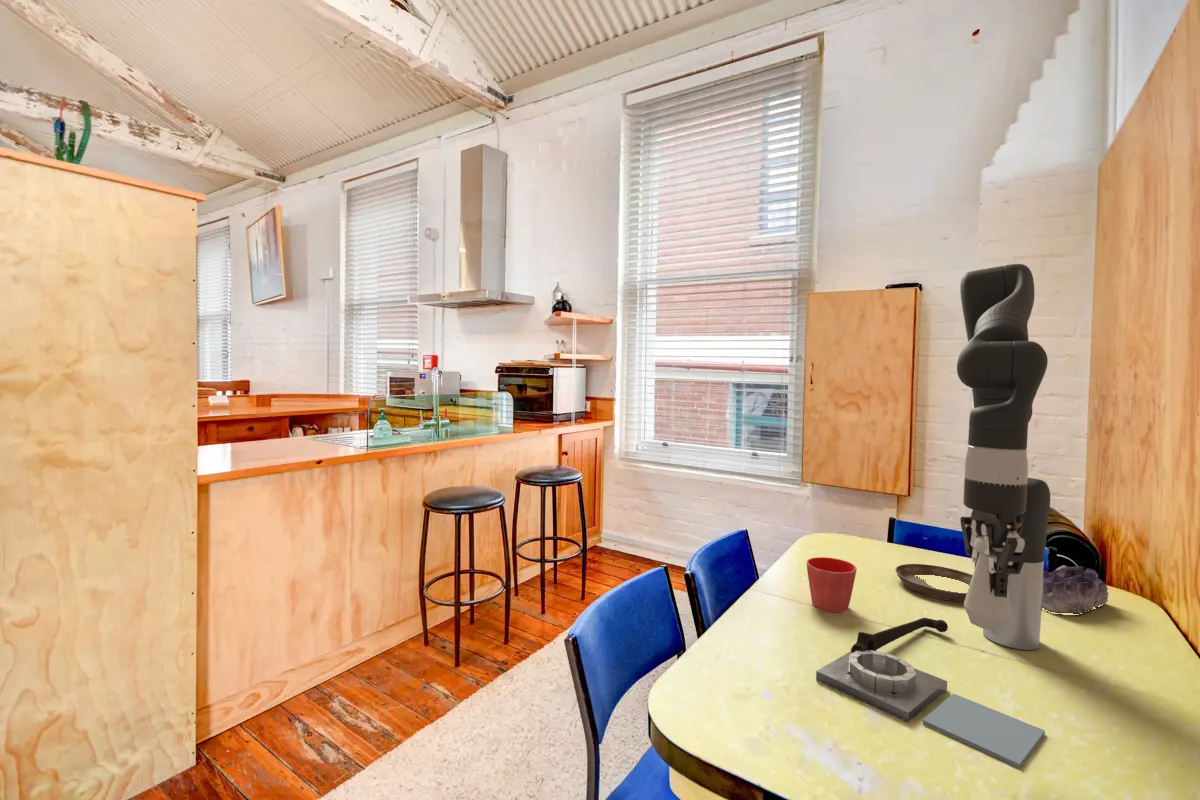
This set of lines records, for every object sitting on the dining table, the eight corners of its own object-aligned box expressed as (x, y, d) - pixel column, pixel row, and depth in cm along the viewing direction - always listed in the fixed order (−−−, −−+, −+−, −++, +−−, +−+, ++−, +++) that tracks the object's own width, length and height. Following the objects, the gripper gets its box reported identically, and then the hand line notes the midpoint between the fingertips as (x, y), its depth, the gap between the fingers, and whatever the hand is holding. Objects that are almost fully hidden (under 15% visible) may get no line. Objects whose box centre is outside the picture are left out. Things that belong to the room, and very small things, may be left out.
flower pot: (804, 610, 125) (805, 567, 125) (805, 593, 135) (807, 554, 135) (856, 619, 121) (857, 575, 121) (853, 601, 131) (855, 560, 131)
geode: (1088, 626, 121) (1082, 579, 121) (1025, 614, 131) (1020, 570, 131) (1119, 603, 132) (1113, 561, 133) (1059, 594, 142) (1054, 554, 142)
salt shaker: (1017, 629, 81) (1025, 541, 81) (999, 636, 78) (1006, 545, 78) (974, 613, 86) (981, 530, 86) (954, 620, 83) (961, 534, 83)
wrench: (950, 641, 114) (875, 674, 96) (923, 633, 118) (847, 664, 100) (949, 614, 114) (875, 642, 97) (923, 608, 118) (847, 634, 101)
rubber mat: (953, 697, 91) (953, 693, 91) (1044, 734, 82) (1044, 730, 82) (922, 723, 84) (923, 719, 84) (1019, 768, 74) (1019, 763, 74)
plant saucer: (988, 586, 144) (989, 573, 144) (993, 613, 127) (993, 599, 126) (898, 570, 155) (898, 558, 155) (891, 593, 138) (891, 579, 138)
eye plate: (858, 654, 105) (859, 636, 105) (946, 689, 93) (947, 669, 93) (816, 679, 96) (816, 659, 96) (908, 722, 84) (909, 699, 84)
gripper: (1056, 488, 74) (1050, 615, 75) (994, 471, 88) (989, 578, 89) (996, 485, 75) (990, 611, 76) (944, 469, 89) (939, 575, 90)
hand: (989, 593), depth 82 cm, fingers closed on salt shaker, 3 cm apart
